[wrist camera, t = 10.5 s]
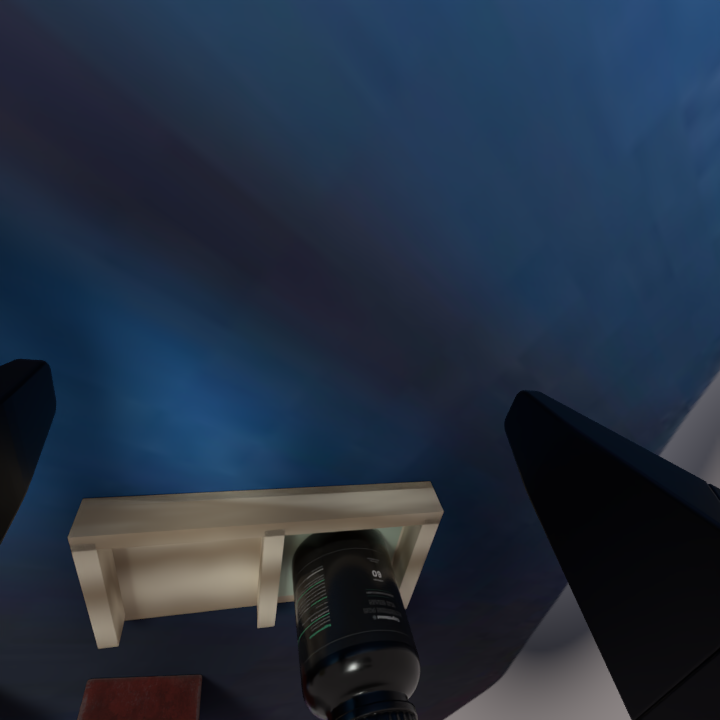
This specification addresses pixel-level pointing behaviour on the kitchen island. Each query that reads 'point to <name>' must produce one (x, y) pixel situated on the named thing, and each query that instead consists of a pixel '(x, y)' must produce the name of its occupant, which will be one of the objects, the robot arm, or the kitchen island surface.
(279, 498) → the birch rack
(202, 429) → the kitchen island surface
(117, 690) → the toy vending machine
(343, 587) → the supplement bottle
